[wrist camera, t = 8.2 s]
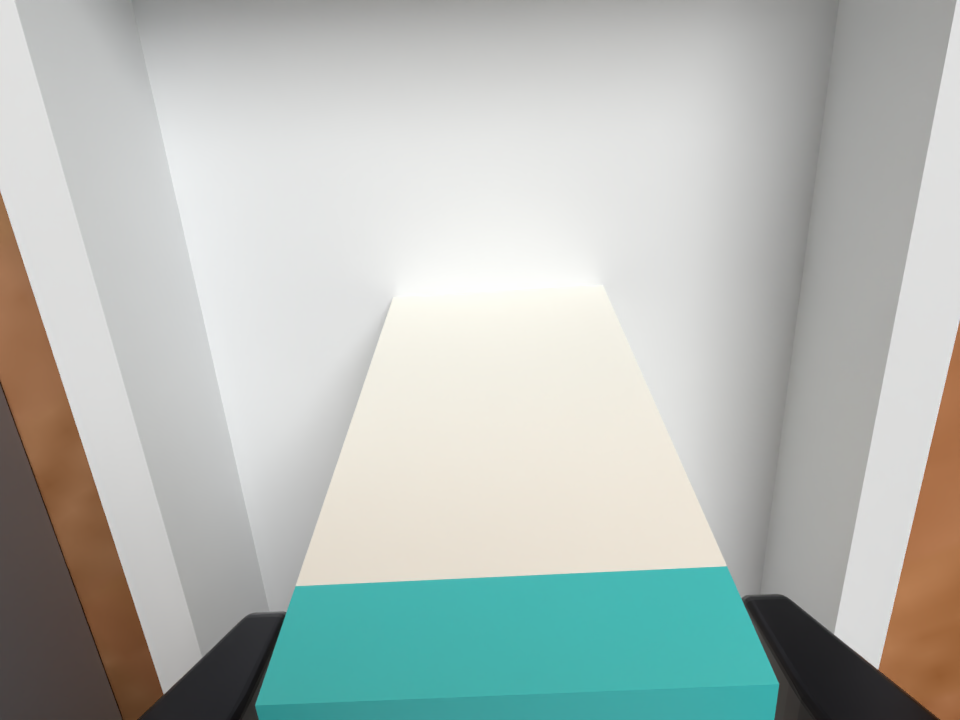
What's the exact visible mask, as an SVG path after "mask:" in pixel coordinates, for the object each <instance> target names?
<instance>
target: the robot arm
mask: <svg viewBox="0 0 960 720" xmlns="http://www.w3.org/2000/svg"><path fill="white" fill-rule="evenodd" d="M741 599H742V601H743V603H744V606H745V608H746V610H747V612H748V615H749V617H750V619H751V621H752V624H753V626H754V628H755V631H756V633H757V635H758V637H759V640H760V642H761V644H762V646H763V649H764V651H765V653H766V655H767V658H768V660H769V662H770V664H771V667H772V669H773V671H774V674H775V676H776V678H777V680H778V683H779V689H778V697H777V704H776V711H775V718H774V720H940V719H939V718H937V717H936V716H935V715H934V714H932V713H931V712H930V711H929V710H927V709H926V708H925V707H924V706H922V705H921V704H920V703H919V702H917V701H916V700H915V699H914V698H912V697H911V696H910V695H909V694H907V693H906V692H905V691H904V690H903V689H901V688H900V687H899V686H898V685H896V684H895V683H894V682H893V681H891V680H890V679H889V678H888V677H886V676H885V675H884V674H883V673H881V672H880V671H879V670H878V669H876V668H875V667H874V666H873V665H871V664H870V663H869V662H868V661H867V660H865V659H864V658H863V657H862V656H860V655H859V654H858V653H857V652H855V651H854V650H853V649H852V648H850V647H849V646H848V645H847V644H845V643H844V642H843V641H842V640H840V639H839V638H838V637H837V636H835V635H834V634H833V633H832V632H831V631H829V630H828V629H827V628H826V627H824V626H823V625H822V624H821V623H819V622H818V621H817V620H816V619H814V618H813V617H812V616H811V615H809V614H808V613H807V612H806V611H804V610H803V609H802V608H801V607H800V606H798V605H797V604H796V603H795V602H793V601H792V600H791V599H789V598H788V597H786V596H784V595H781V594H759V595H745V596H743V597H742V598H741ZM285 615H286V612H284V611H278V612H254V613H250V614H248V615H247V616H245V617H244V618H243V619H242V620H241V621H239V622H238V623H237V624H236V625H235V626H234V627H233V628H232V629H231V630H230V631H229V632H228V633H227V634H226V635H225V636H224V637H223V638H222V639H221V640H220V641H219V642H218V643H217V644H216V645H215V646H214V647H213V648H212V649H210V650H209V651H208V652H207V653H206V654H205V655H204V656H203V657H202V658H201V659H200V660H199V661H198V662H197V663H196V664H195V665H194V666H193V667H192V668H191V669H190V670H189V671H188V672H187V673H186V674H185V675H184V676H183V677H182V678H180V679H179V680H178V681H177V682H176V683H175V684H174V685H173V686H172V687H171V688H170V689H169V690H168V691H167V692H166V693H165V694H164V695H163V696H162V697H161V698H160V699H159V700H158V701H157V702H156V703H155V704H154V705H153V706H151V707H150V708H149V709H148V710H147V711H146V712H145V713H144V714H143V715H142V716H141V717H140V718H139V719H138V720H259V719H258V715H257V711H256V707H255V704H256V701H257V698H258V695H259V692H260V689H261V686H262V683H263V680H264V678H265V675H266V672H267V669H268V666H269V663H270V660H271V657H272V654H273V651H274V648H275V645H276V642H277V639H278V636H279V633H280V630H281V627H282V624H283V621H284V618H285Z"/></svg>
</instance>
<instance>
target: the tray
mask: <svg viewBox="0 0 960 720" xmlns="http://www.w3.org/2000/svg"><path fill="white" fill-rule="evenodd" d="M0 191H1V194H2V197H3V201H4V204H5V207H6V210H7V213H8V216H9V219H10V222H11V225H12V228H13V231H14V234H15V238H16V241H17V244H18V247H19V250H20V253H21V256H22V259H23V262H24V265H25V268H26V271H27V275H28V278H29V281H30V284H31V287H32V290H33V293H34V296H35V299H36V302H37V305H38V308H39V312H40V315H41V318H42V321H43V324H44V327H45V330H46V333H47V336H48V339H49V342H50V345H51V349H52V352H53V355H54V358H55V361H56V364H57V367H58V370H59V373H60V376H61V379H62V382H63V386H64V389H65V392H66V395H67V398H68V401H69V404H70V407H71V410H72V413H73V416H74V419H75V423H76V426H77V429H78V432H79V435H80V438H81V441H82V444H83V447H84V450H85V453H86V456H87V460H88V463H89V466H90V469H91V472H92V475H93V478H94V481H95V484H96V487H97V490H98V493H99V497H100V500H101V503H102V506H103V509H104V512H105V515H106V518H107V521H108V524H109V527H110V530H111V534H112V537H113V540H114V543H115V546H116V549H117V552H118V555H119V558H120V561H121V564H122V567H123V571H124V574H125V577H126V580H127V583H128V586H129V589H130V592H131V595H132V598H133V601H134V604H135V607H136V611H137V614H138V617H139V620H140V623H141V626H142V629H143V632H144V635H145V638H146V641H147V644H148V648H149V651H150V654H151V657H152V660H153V663H154V666H155V669H156V672H157V675H158V678H159V681H160V685H161V688H162V691H163V694H165V693H166V692H167V691H168V690H169V689H170V688H171V687H172V686H173V685H174V684H175V683H176V682H177V681H178V680H179V679H180V678H182V677H183V676H184V675H185V674H186V673H187V672H188V671H189V670H190V669H191V668H192V667H193V666H194V665H195V664H196V663H197V662H198V661H199V660H200V659H201V658H202V657H203V656H204V655H205V654H206V653H207V652H208V651H209V650H210V649H212V648H213V647H214V646H215V645H216V644H217V643H218V642H219V641H220V640H221V639H222V638H223V637H224V636H225V635H226V634H227V633H228V632H229V631H230V630H231V629H232V628H233V627H234V626H235V625H236V624H237V623H238V622H239V621H241V620H242V619H243V618H244V617H245V616H247V615H248V614H250V613H254V612H278V611H284V612H287V610H288V607H289V604H290V601H291V598H292V595H293V592H294V589H295V586H296V583H297V580H298V577H299V574H300V571H301V568H302V565H303V562H304V559H305V556H306V553H307V550H308V547H309V544H310V541H311V539H312V536H313V533H314V530H315V527H316V524H317V521H318V518H319V515H320V512H321V509H322V506H323V503H324V500H325V497H326V494H327V491H328V488H329V485H330V482H331V479H332V476H333V473H334V471H335V468H336V465H337V462H338V459H339V456H340V453H341V450H342V447H343V444H344V441H345V438H346V435H347V432H348V429H349V426H350V423H351V420H352V417H353V414H354V411H355V408H356V405H357V402H358V400H359V397H360V394H361V391H362V388H363V385H364V382H365V379H366V376H367V373H368V370H369V367H370V364H371V361H372V358H373V355H374V352H375V349H376V346H377V343H378V340H379V337H380V334H381V331H382V329H383V326H384V323H385V320H386V317H387V314H388V311H389V308H390V305H391V302H392V299H393V297H407V296H424V295H441V294H458V293H475V292H491V291H508V290H525V289H542V288H559V287H576V286H593V285H603V286H604V289H605V291H606V293H607V295H608V298H609V300H610V302H611V304H612V307H613V309H614V311H615V314H616V316H617V318H618V320H619V323H620V325H621V327H622V329H623V332H624V334H625V336H626V338H627V341H628V343H629V345H630V347H631V350H632V352H633V354H634V357H635V359H636V361H637V363H638V366H639V368H640V370H641V372H642V375H643V377H644V379H645V381H646V384H647V386H648V388H649V391H650V393H651V395H652V397H653V400H654V402H655V404H656V406H657V409H658V411H659V413H660V415H661V418H662V420H663V422H664V424H665V427H666V429H667V431H668V434H669V436H670V438H671V440H672V443H673V445H674V447H675V449H676V452H677V454H678V456H679V458H680V461H681V463H682V465H683V467H684V470H685V472H686V474H687V477H688V479H689V481H690V483H691V486H692V488H693V490H694V492H695V495H696V497H697V499H698V501H699V504H700V506H701V508H702V511H703V513H704V515H705V517H706V520H707V522H708V524H709V526H710V529H711V531H712V533H713V535H714V538H715V540H716V542H717V544H718V547H719V549H720V551H721V554H722V556H723V558H724V560H725V563H726V565H727V567H728V569H729V572H730V574H731V576H732V578H733V581H734V583H735V585H736V587H737V590H738V592H739V594H740V597H741V598H742V597H743V596H745V595H759V594H781V595H784V596H786V597H788V598H789V599H791V600H792V601H793V602H795V603H796V604H797V605H798V606H800V607H801V608H802V609H803V610H804V611H806V612H807V613H808V614H809V615H811V616H812V617H813V618H814V619H816V620H817V621H818V622H819V623H821V624H822V625H823V626H824V627H826V628H827V629H828V630H829V631H831V632H832V633H833V634H834V635H835V636H837V637H838V638H839V639H840V640H842V641H843V642H844V643H845V644H847V645H848V646H849V647H850V648H852V649H853V650H854V651H855V652H857V653H858V654H859V655H860V656H862V657H863V658H864V659H865V660H867V661H868V662H869V663H870V664H871V665H873V666H874V667H875V668H876V669H878V668H879V664H880V660H881V656H882V651H883V647H884V643H885V638H886V634H887V630H888V625H889V621H890V617H891V613H892V608H893V604H894V600H895V595H896V591H897V587H898V583H899V578H900V574H901V570H902V565H903V561H904V557H905V552H906V548H907V544H908V540H909V535H910V531H911V527H912V522H913V518H914V514H915V510H916V505H917V501H918V497H919V492H920V488H921V484H922V479H923V475H924V471H925V467H926V462H927V458H928V454H929V449H930V445H931V441H932V437H933V432H934V428H935V424H936V419H937V415H938V411H939V406H940V402H941V398H942V394H943V389H944V385H945V381H946V376H947V372H948V368H949V364H950V359H951V355H952V351H953V346H954V342H955V338H956V333H957V329H958V325H959V321H960V0H0Z"/></svg>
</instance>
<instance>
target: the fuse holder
mask: <svg viewBox="0 0 960 720" xmlns="http://www.w3.org/2000/svg"><path fill="white" fill-rule="evenodd" d="M0 720H122V717H121V715H120V712H119V709H118V706H117V704H116V701H115V698H114V695H113V693H112V690H111V687H110V684H109V682H108V679H107V676H106V673H105V671H104V668H103V665H102V662H101V660H100V657H99V654H98V652H97V649H96V646H95V643H94V641H93V638H92V635H91V632H90V630H89V627H88V624H87V621H86V619H85V616H84V613H83V610H82V608H81V605H80V602H79V599H78V597H77V594H76V591H75V588H74V586H73V583H72V580H71V577H70V575H69V572H68V569H67V566H66V564H65V561H64V558H63V555H62V553H61V550H60V547H59V544H58V542H57V539H56V536H55V533H54V531H53V528H52V525H51V522H50V520H49V517H48V514H47V511H46V509H45V506H44V503H43V500H42V498H41V495H40V492H39V489H38V487H37V484H36V481H35V478H34V476H33V473H32V470H31V468H30V465H29V462H28V459H27V457H26V454H25V451H24V448H23V446H22V443H21V440H20V437H19V435H18V432H17V429H16V426H15V424H14V421H13V418H12V415H11V413H10V410H9V407H8V404H7V402H6V399H5V396H4V393H3V391H2V388H1V385H0Z"/></svg>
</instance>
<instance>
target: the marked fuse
mask: <svg viewBox="0 0 960 720" xmlns="http://www.w3.org/2000/svg"><path fill="white" fill-rule="evenodd" d="M778 689H779V683H778V680H777V678H776V676H775V674H774V671H773V669H772V667H771V664H770V662H769V660H768V658H767V655H766V653H765V651H764V649H763V646H762V644H761V642H760V640H759V637H758V635H757V633H756V631H755V628H754V626H753V624H752V621H751V619H750V617H749V615H748V612H747V610H746V608H745V606H744V603H743V601H742V599H741V597H740V594H739V592H738V590H737V587H736V585H735V583H734V581H733V578H732V576H731V574H730V572H729V569H728V567H727V565H726V563H725V560H724V558H723V556H722V554H721V551H720V549H719V547H718V544H717V542H716V540H715V538H714V535H713V533H712V531H711V529H710V526H709V524H708V522H707V520H706V517H705V515H704V513H703V511H702V508H701V506H700V504H699V501H698V499H697V497H696V495H695V492H694V490H693V488H692V486H691V483H690V481H689V479H688V477H687V474H686V472H685V470H684V467H683V465H682V463H681V461H680V458H679V456H678V454H677V452H676V449H675V447H674V445H673V443H672V440H671V438H670V436H669V434H668V431H667V429H666V427H665V424H664V422H663V420H662V418H661V415H660V413H659V411H658V409H657V406H656V404H655V402H654V400H653V397H652V395H651V393H650V391H649V388H648V386H647V384H646V381H645V379H644V377H643V375H642V372H641V370H640V368H639V366H638V363H637V361H636V359H635V357H634V354H633V352H632V350H631V347H630V345H629V343H628V341H627V338H626V336H625V334H624V332H623V329H622V327H621V325H620V323H619V320H618V318H617V316H616V314H615V311H614V309H613V307H612V304H611V302H610V300H609V298H608V295H607V293H606V291H605V289H604V286H603V285H593V286H576V287H559V288H542V289H525V290H508V291H491V292H475V293H458V294H441V295H424V296H407V297H393V299H392V302H391V305H390V308H389V311H388V314H387V317H386V320H385V323H384V326H383V329H382V331H381V334H380V337H379V340H378V343H377V346H376V349H375V352H374V355H373V358H372V361H371V364H370V367H369V370H368V373H367V376H366V379H365V382H364V385H363V388H362V391H361V394H360V397H359V400H358V402H357V405H356V408H355V411H354V414H353V417H352V420H351V423H350V426H349V429H348V432H347V435H346V438H345V441H344V444H343V447H342V450H341V453H340V456H339V459H338V462H337V465H336V468H335V471H334V473H333V476H332V479H331V482H330V485H329V488H328V491H327V494H326V497H325V500H324V503H323V506H322V509H321V512H320V515H319V518H318V521H317V524H316V527H315V530H314V533H313V536H312V539H311V541H310V544H309V547H308V550H307V553H306V556H305V559H304V562H303V565H302V568H301V571H300V574H299V577H298V580H297V583H296V586H295V589H294V592H293V595H292V598H291V601H290V604H289V607H288V610H287V612H286V615H285V618H284V621H283V624H282V627H281V630H280V633H279V636H278V639H277V642H276V645H275V648H274V651H273V654H272V657H271V660H270V663H269V666H268V669H267V672H266V675H265V678H264V680H263V683H262V686H261V689H260V692H259V695H258V698H257V701H256V704H255V707H256V711H257V715H258V719H259V720H774V718H775V711H776V704H777V697H778Z"/></svg>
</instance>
